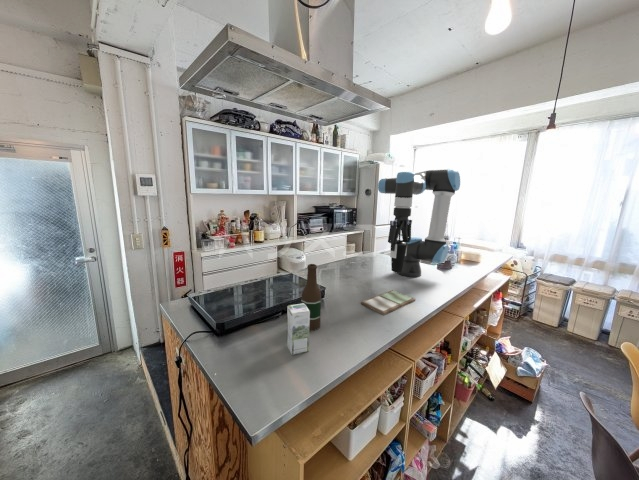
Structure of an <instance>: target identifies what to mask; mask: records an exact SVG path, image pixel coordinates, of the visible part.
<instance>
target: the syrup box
mask: <svg viewBox="0 0 639 480" xmlns="http://www.w3.org/2000/svg"><path fill="white" fill-rule="evenodd" d="M286 311H287V313H286V314H287V315H286V316H287V317H286V318H287V320H286V322H287V324H286V327H287V328H286V346H287V348H288V350H289V352H290V354H291V356H295V355H299V354H304V353H307V352H309V349H310V348H309V346H310V344H309V343H310V330H309V324H310V311H309V309H308V308H307V306H306V305H305V304H304V303H302V304H301V303H297V304H288V305H287V310H286Z"/></svg>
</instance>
